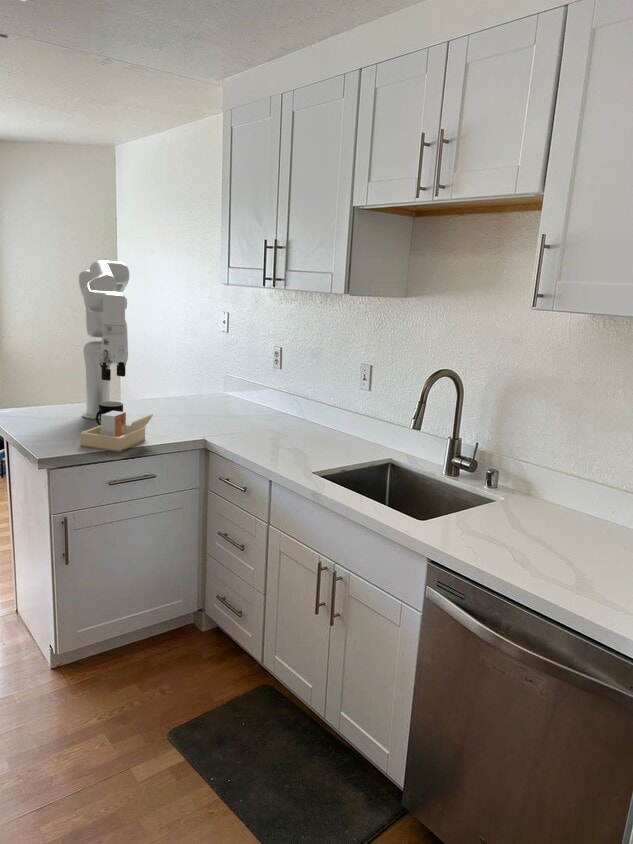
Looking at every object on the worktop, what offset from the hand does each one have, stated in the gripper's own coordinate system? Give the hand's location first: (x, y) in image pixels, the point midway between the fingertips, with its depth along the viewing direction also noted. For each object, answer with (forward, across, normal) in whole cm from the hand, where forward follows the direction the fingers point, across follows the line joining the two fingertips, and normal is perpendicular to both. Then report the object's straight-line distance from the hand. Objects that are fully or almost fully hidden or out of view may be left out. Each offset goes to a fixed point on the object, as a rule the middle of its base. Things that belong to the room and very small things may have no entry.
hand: (113, 378), depth 220 cm
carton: (+24, 0, 0) cm, 24 cm away
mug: (+24, +16, +12) cm, 31 cm away
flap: (+15, 0, -10) cm, 18 cm away
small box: (+24, 0, 0) cm, 24 cm away
